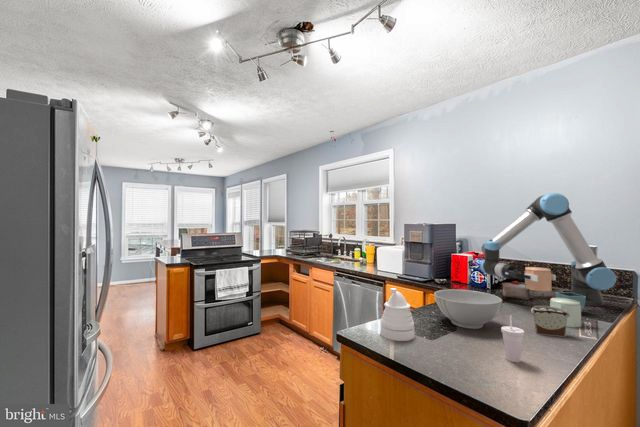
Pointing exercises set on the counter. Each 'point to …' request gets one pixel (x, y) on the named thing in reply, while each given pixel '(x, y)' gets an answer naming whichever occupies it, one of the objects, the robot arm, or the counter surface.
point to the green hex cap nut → (569, 310)
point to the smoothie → (512, 342)
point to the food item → (515, 290)
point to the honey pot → (397, 318)
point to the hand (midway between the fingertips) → (546, 278)
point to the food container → (550, 320)
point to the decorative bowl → (468, 307)
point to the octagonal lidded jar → (539, 279)
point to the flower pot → (572, 297)
